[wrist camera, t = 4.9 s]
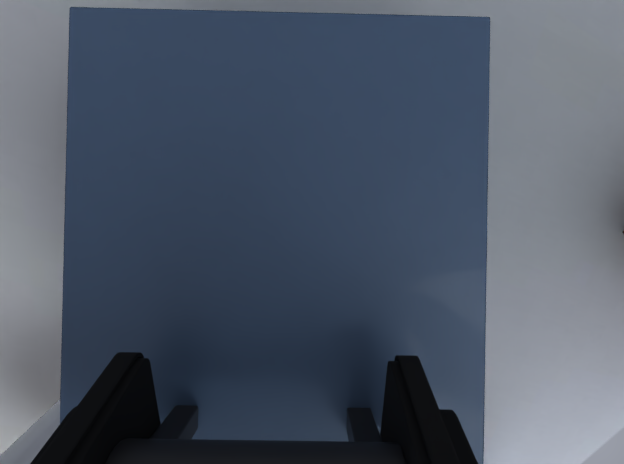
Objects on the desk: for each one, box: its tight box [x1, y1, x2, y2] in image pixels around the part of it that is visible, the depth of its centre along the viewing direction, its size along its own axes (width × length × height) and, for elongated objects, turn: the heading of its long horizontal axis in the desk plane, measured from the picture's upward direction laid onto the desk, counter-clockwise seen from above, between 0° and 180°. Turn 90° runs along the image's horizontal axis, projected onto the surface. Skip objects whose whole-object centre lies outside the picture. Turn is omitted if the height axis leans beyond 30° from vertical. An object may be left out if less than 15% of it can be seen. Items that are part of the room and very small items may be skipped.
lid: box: [60, 7, 490, 464], centre depth 9 cm, size 14×12×5 cm
